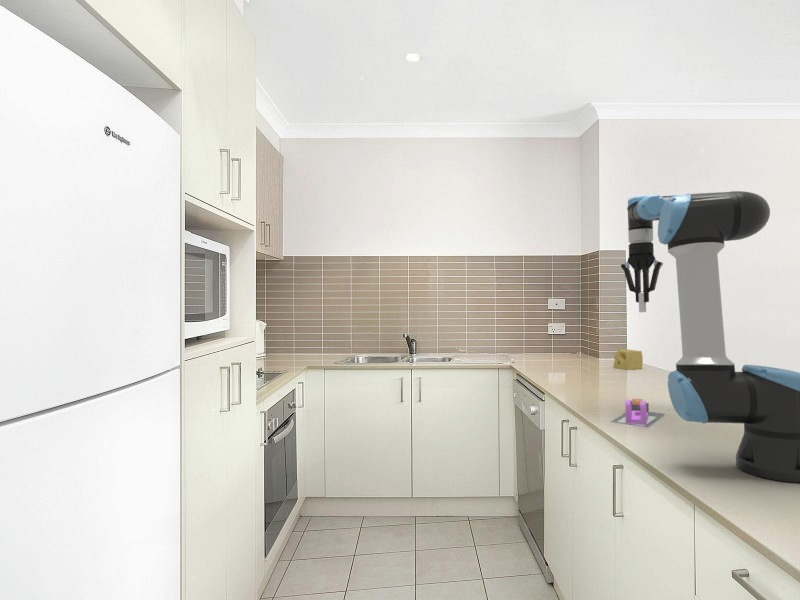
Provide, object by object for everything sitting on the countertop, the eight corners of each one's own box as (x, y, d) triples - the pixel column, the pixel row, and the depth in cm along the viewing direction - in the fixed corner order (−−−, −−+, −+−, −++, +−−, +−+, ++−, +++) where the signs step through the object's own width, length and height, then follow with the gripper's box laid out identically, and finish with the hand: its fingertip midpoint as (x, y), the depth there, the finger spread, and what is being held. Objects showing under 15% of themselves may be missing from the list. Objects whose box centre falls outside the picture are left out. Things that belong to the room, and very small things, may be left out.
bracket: (645, 425, 147) (645, 402, 147) (625, 423, 150) (625, 400, 150) (648, 415, 158) (648, 394, 158) (630, 414, 161) (629, 393, 161)
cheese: (613, 368, 268) (613, 350, 268) (629, 366, 271) (628, 348, 271) (627, 370, 258) (627, 351, 258) (643, 369, 261) (643, 350, 261)
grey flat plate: (648, 428, 145) (648, 426, 145) (610, 423, 153) (610, 421, 153) (666, 415, 161) (666, 413, 161) (631, 410, 168) (630, 409, 168)
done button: (641, 412, 162) (640, 400, 162) (631, 411, 164) (630, 399, 164) (644, 410, 164) (643, 399, 164) (634, 409, 166) (633, 398, 166)
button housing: (644, 414, 160) (643, 405, 160) (626, 412, 164) (626, 403, 164) (648, 411, 164) (648, 403, 164) (631, 409, 168) (631, 401, 168)
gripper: (665, 241, 162) (666, 311, 162) (624, 245, 171) (625, 311, 171) (659, 239, 157) (660, 312, 157) (617, 243, 165) (618, 312, 165)
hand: (642, 312), depth 164 cm, fingers closed
